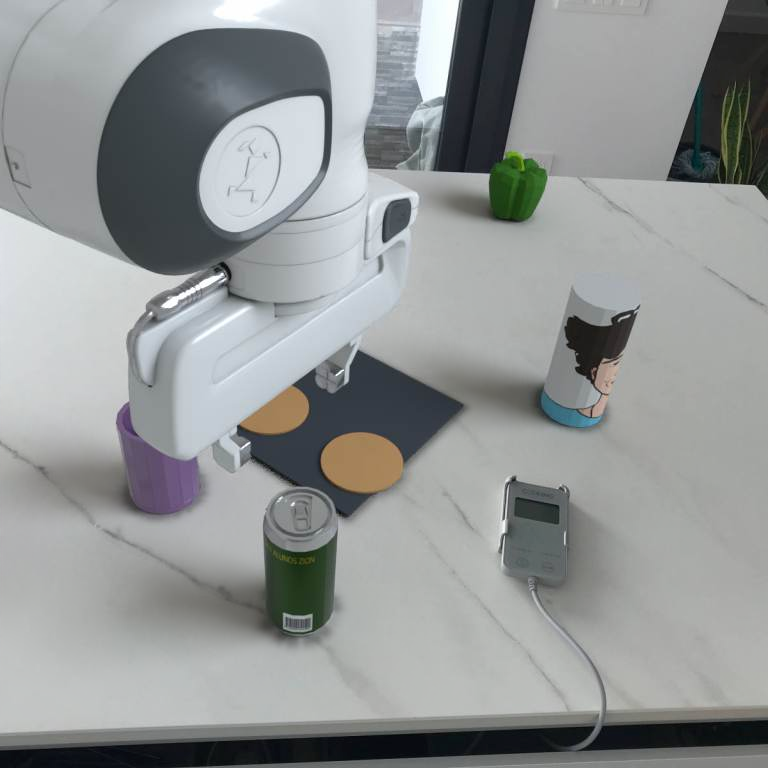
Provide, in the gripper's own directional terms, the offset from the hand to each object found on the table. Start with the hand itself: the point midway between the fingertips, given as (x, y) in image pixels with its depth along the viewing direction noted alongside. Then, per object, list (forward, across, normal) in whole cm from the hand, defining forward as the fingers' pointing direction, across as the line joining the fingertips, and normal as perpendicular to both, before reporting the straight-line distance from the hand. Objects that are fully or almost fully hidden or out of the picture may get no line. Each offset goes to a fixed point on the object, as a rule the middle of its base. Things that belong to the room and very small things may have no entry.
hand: (285, 421), depth 50 cm
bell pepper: (+21, +73, +20) cm, 79 cm away
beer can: (+20, 0, -1) cm, 21 cm away
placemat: (+21, +20, +11) cm, 31 cm away
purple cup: (+20, +2, +17) cm, 27 cm away
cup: (+21, +38, -7) cm, 44 cm away
